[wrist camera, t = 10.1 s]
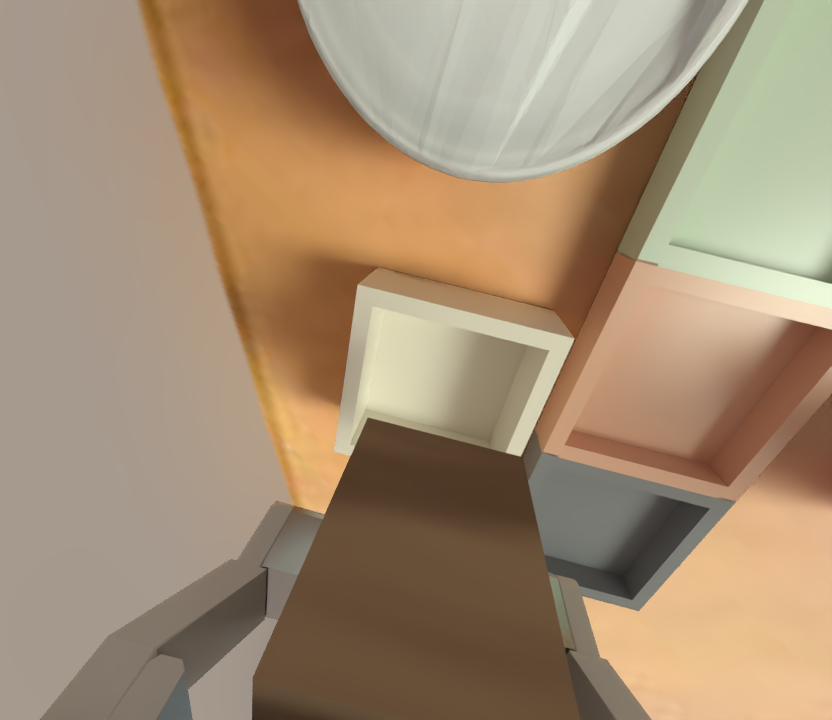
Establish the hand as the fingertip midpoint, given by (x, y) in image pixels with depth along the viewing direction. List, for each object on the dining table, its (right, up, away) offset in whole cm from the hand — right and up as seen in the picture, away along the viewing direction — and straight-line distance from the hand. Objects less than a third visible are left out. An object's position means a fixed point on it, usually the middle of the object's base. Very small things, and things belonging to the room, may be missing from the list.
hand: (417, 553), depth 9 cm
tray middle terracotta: (+12, +4, +8) cm, 15 cm away
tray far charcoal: (+10, -4, +12) cm, 16 cm away
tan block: (0, +1, +2) cm, 2 cm away
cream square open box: (+1, +5, +9) cm, 10 cm away
